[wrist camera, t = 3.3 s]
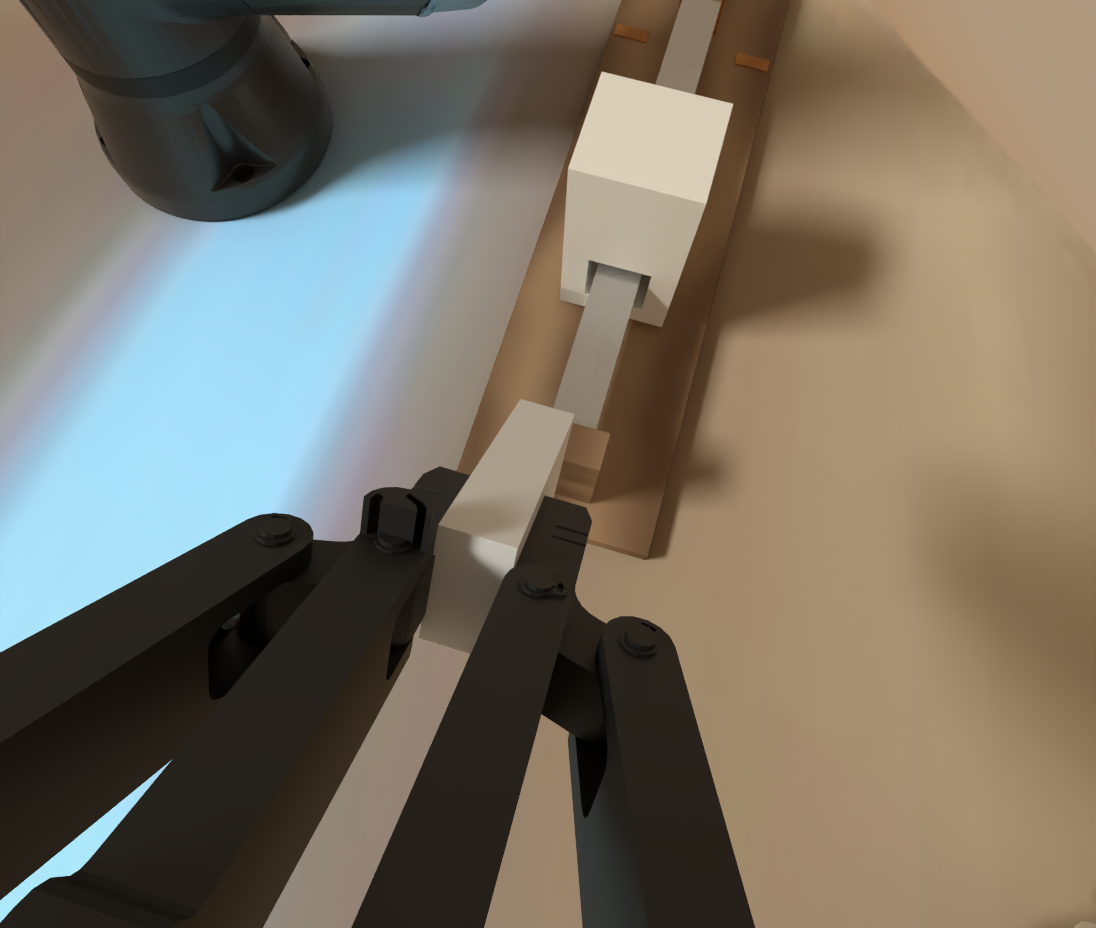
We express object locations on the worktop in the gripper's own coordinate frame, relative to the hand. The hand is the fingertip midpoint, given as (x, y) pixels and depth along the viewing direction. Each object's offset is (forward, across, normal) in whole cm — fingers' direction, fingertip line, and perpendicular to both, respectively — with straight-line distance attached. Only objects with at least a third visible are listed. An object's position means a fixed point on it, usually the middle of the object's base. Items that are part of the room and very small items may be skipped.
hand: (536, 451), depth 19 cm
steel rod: (+32, 0, +6) cm, 32 cm away
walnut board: (+34, 0, +3) cm, 34 cm away
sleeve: (+28, 0, 0) cm, 28 cm away
